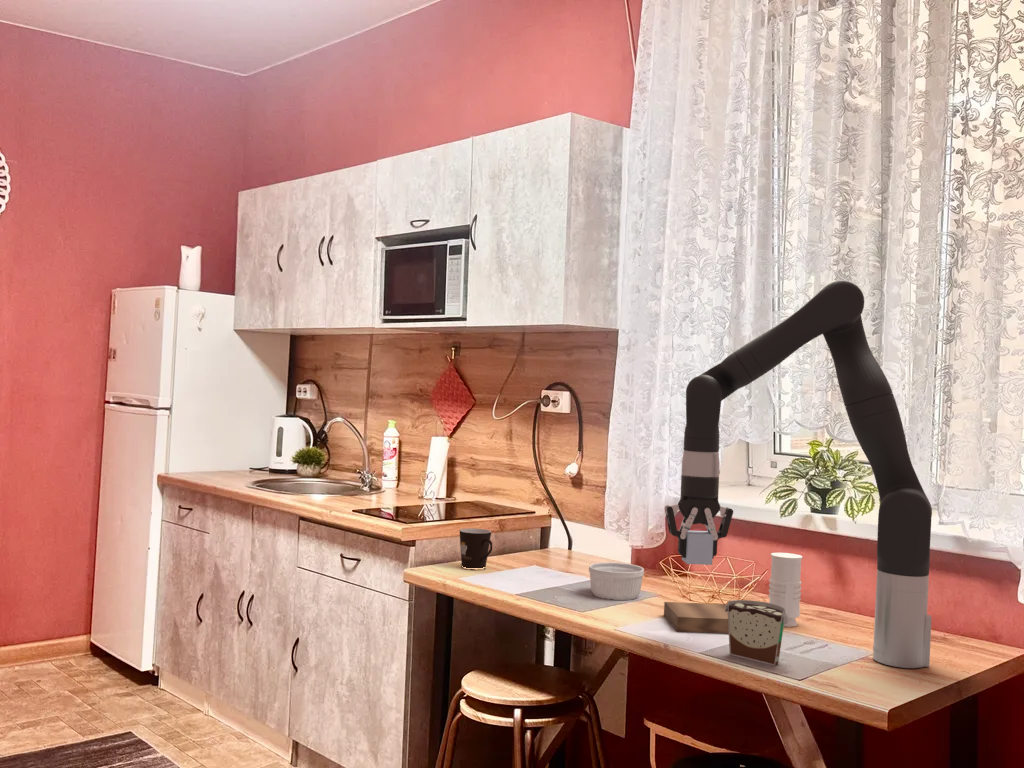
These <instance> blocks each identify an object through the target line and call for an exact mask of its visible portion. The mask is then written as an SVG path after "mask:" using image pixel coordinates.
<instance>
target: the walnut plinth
mask: <svg viewBox="0 0 1024 768" xmlns="http://www.w3.org/2000/svg"><path fill="white" fill-rule="evenodd" d="M663 604H664V605H663V616H664V617H665V619H666V620H667V621H668V622H669V623H670V625H672V627H673V628H674V629H675V630H676V632H678V633H679V632H682V633H683V632H685V633H704V632H707V634H708V632H709V633H711V634H712V633H713V634H729V628H728V611H726V612H725V608H726V604H727V603H726V604H725V603H724V604H723V603H705V602H704V603H703V602H702V603H701V602H674V601H664V603H663Z"/></svg>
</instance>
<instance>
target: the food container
mask: <svg viewBox="0 0 1024 768" xmlns="http://www.w3.org/2000/svg"><path fill="white" fill-rule="evenodd" d="M726 611H728V628H729V633H728V642H729V643H728V644H729V645H728V646H729V655H731V656H733V657H738V658H741V659H742V658H743V659H745V660H751V661H755V662H758V663H762V664H766V665H770V666H774V667H776V666H778V664H779V659H780V654H781V647H782V639H783V633H784V627H785V626H784V624H787V623H788V618H787V613H786V610H785V609H784V608H783V607H781V606H778V605H775V604H771V603H769V602H767V601H760V600H751V599H749V600H748V599H737V600H736V599H733V600H727V603H726V608H725V612H726Z"/></svg>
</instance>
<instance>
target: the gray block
mask: <svg viewBox="0 0 1024 768" xmlns="http://www.w3.org/2000/svg"><path fill="white" fill-rule="evenodd" d="M686 540H687V547H686V558H682V557H681V560H682V561H683V562H684V563H685V564H687V565H703V566H704V565H705V566H713V559H714V558H713V534H710V533H709V532H708V531H707V530H689V531H688V533H687V536H686ZM712 558H713V559H712Z"/></svg>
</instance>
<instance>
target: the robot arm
mask: <svg viewBox="0 0 1024 768" xmlns="http://www.w3.org/2000/svg"><path fill="white" fill-rule="evenodd" d="M864 308H865V296H864V293H863V291H862V289H861V288H860V287H859V286H858V285H857V284H855V283H854V282H852V281H850V280H846V279H838V280H833V281H830V282H828V283H826V284H825V285H823V286H822V287H821V288H820V289H819V291H818V292H817V293H816V294H815V295H814V296H813V297H812V298H810V299H809V300H808V301H807V302H806V303H805V304H804V305H803V306H801V307H800V308H799V309H798V310H796V311H795V312H794V313H792V314H791V315H790V316H788V317H787V318H786V319H784V320H782V321H781V322H779V324H778V323H777V325H775V326H774V327H772V328H771V329H769V330H767V331H765V332H764V333H762V334H761V335H759V336H757V337H755V338H754V339H752V340H751V341H749V342H747V343H746V344H744V345H743V346H741V347H740V348H738V349H737V350H735V351H733V352H732V353H730V354H729V355H728V356H727V357H725V358H724V359H723V360H722V361H721V362H719V363H718V364H716V365H714V366H713V367H711V368H710V369H708V370H706V371H704V372H702V373H701V374H699V375H697V376H695V377H693V378H692V379H691V380H690V381H689V382H688V384H687V386H686V389H685V417H686V419H685V422H686V423H685V429H684V436H683V437H684V438H683V454H682V459H681V475H680V476H681V477H680V478H681V479H680V480H681V481H680V499H679V501H678V502H677V504H673V505H667V504H666V505H665V506H664V512H665V517H666V518H665V519H666V523H667V529H668V532H669V534H671V535H672V536H674V537H676V538H677V542H678V543H677V553H678V554H679V555H680V557H681V559H682V558H686V547H687V540H686V536H687V533H688V531H690V529H691V527H692V525H698V524H701V525H704V526H705V528H706V531H708V532H709V533H710V534H713V558H712V560H714V559H715V558H714V557H716V556H717V554H718V541H719V539H724V538H727V536H728V532H729V529H730V525H731V522H732V519H733V515H734V510H733V509H732V508H730V507H728V506H727V507H726V506H721V504H720V502H719V489H720V488H719V487H720V473H721V470H720V469H721V467H720V465H721V464H720V453H719V452H720V427H719V425H720V416H721V409H722V405H721V404H722V401H723V400H725V399H727V398H728V397H729V396H731V395H732V394H733V393H734V392H737V391H738V390H739V389H741V388H744V387H745V386H748V385H750V384H752V383H753V382H754V381H756V380H758V379H759V378H761V377H763V376H765V374H767V373H768V372H770V371H771V370H773V369H774V368H775V367H777V366H778V365H780V364H781V363H782V362H784V361H785V360H786V359H787V358H789V357H790V356H791V355H792V354H793V353H795V352H797V350H799V349H800V348H802V347H803V346H804V345H806V344H808V343H809V342H811V341H813V340H815V339H816V338H817V337H820V336H821V335H823V338H824V339H825V342H826V345H827V347H828V350H829V351H830V354H831V357H832V359H833V365H834V368H835V373H836V378H837V382H838V385H839V386H838V387H839V390H840V393H841V398H842V402H843V404H844V407H845V411H846V414H847V417H848V420H849V423H850V425H851V426H850V427H851V428H852V431H853V433H854V435H855V437H856V440H857V442H858V444H859V446H860V448H861V449H862V451H863V454H864V455H865V457H866V459H867V460H868V463H869V464H870V467H871V469H872V471H873V472H872V473H873V476H874V479H875V483H876V486H877V487H876V488H877V491H878V492H877V493H878V497H879V501H880V504H879V507H878V508H879V509H878V513H877V514H878V516H877V518H878V519H877V537H876V538H877V541H876V542H877V543H876V546H877V547H876V561H877V565H876V582H875V583H876V588H875V608H874V627H873V630H874V631H873V645H872V658H873V660H874V661H876V662H878V663H880V664H883V665H887V666H891V667H896V668H902V669H919V668H920V669H921V668H924V667H926V668H927V667H928V668H929V667H930V661H931V643H932V642H931V640H932V637H931V636H932V621H933V620H932V615H930V614H928V604H929V603H928V601H929V598H928V597H929V578H930V576H929V575H930V564H931V563H930V561H931V560H930V557H931V552H930V551H931V537H932V535H931V534H932V531H931V530H932V515H933V507H932V505H931V502H930V499H929V498H928V496H927V494H926V492H925V490H924V488H923V487H922V484H921V482H920V479H919V477H918V475H917V473H916V471H915V468H914V466H913V463H912V461H911V458H910V454H909V448H908V444H907V439H906V434H905V433H906V432H905V429H904V426H903V422H902V417H901V415H900V411H899V407H898V405H897V401H896V399H895V396H894V393H893V389H892V388H891V385H890V382H889V381H888V378H887V376H886V375H885V373H884V371H883V370H882V368H881V366H880V364H879V363H878V361H877V359H876V358H875V356H874V354H873V352H872V350H871V348H870V346H869V343H868V339H867V336H866V331H865V327H864V323H863V319H862V314H863V311H864ZM678 510H679V512H680V513H681V515H682V516H683V518H682V521H681V523H680V527H679V529H677V528H678V527H677V524H676V523H677V521H676V518H675V517H676V516H677V515H678ZM718 513H719V515H720V517H721V521H720V523H719V528H718V531H717V529H716V525H715V521H714V518H715V517H717V516H716V515H717V514H718Z"/></svg>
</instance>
